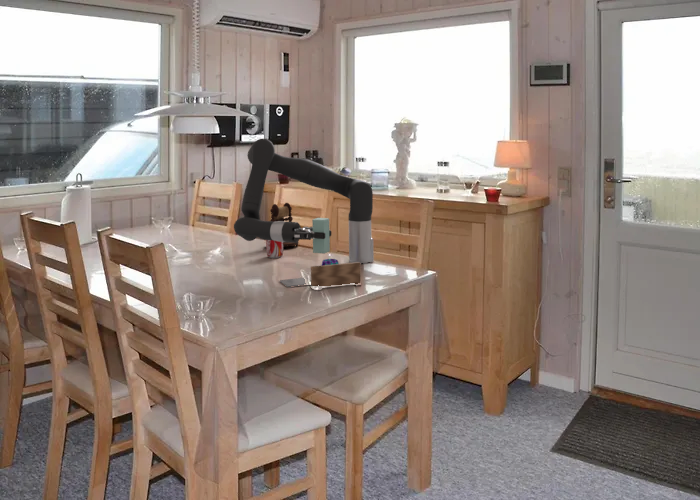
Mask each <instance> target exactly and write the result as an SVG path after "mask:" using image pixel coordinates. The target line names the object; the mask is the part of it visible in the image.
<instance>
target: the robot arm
mask: <svg viewBox="0 0 700 500" xmlns="http://www.w3.org/2000/svg"><path fill="white" fill-rule="evenodd" d="M246 155H247V159H248V161H249V162H250V164H251V167H250V168H251V169H250V173H249V177H248V179H247V183H246V186H245V188H244V189H245V190H244V193H243V198H242V203H241V207H240V208H241V210H240V211H241V213H242V214H243V217H240V218H238V219H236V220H235V222H234V224H233V230H234V232H235V233H236V235H238V236H239V237H241V238H242V239H244V240H246V241H248V242H251V241H255V239H257V238H259V239H261V240H265V241H266V240H274V241H279V242H291V243H296V242H299V241H300V240H303V241H305V240H308V241H311V240H313V239H315V238H317V239H325V238H326V237H325V233H324V232H314V231H313V226H309V227H308V226H303V227H301V225H300V223H299V222H297V221H292V222H289V221H277V222H274V221H270V220H269V221H268V220H261V219H260V218H261V216H260V215H261V214H260V211H261V206H262V201H263V195H264V191H265V185H266V184H265V183H266V180H267V179H266V178H267V175H268V172H269V171H271V172H274V173H278V174H279V175H283V176H286V177H288V178H291V179H293V180H295V181H299V182H301V183H303V184H305V185H308V186H310V187H314V188H316V189H317V188H318V189H321V190H327V191H331V192H334V193H337V194H339V195H341V196H343V197H345V198H347V199H348V200H349V212H348V258H349V259H348V263H352V262H360V263H363V264H368V263H367V262H370V263H372V262H374V256H375V255H374V254H375V253H374V238H373V237H372V214H373V204H374V203H373V200H374V199H373V198H374V197H373V189H372V187H371V185H370V183H368V182H366V181H364V180H362V179H357V178H352V177H349V176H346V175H342V174H340V173H338V172H336V171H335V170H332V169H331V168H329V167H327V166H324V165H323V164H321V163H319V162H316V161H313V160H311V159H307V158H299V157H289V156H283V155H281V154H278V153H276V150H275V145H274V144H273V142H272V141H271V140H270V139H267V138H258V139H256V140H255V141H254V142H253V143H252V145H250V147H249V150H248V152H247V154H246ZM331 236H332V230H331V229H329V237H330V238H331Z"/></svg>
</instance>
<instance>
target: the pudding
mask: <svg viewBox="0 0 700 500" xmlns="http://www.w3.org/2000/svg"><path fill="white" fill-rule="evenodd" d="M332 264H340V262H339V261H338V259H335V258H325V259H323V260H322V262H321V266H322V265H332Z"/></svg>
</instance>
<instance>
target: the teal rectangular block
mask: <svg viewBox="0 0 700 500" xmlns="http://www.w3.org/2000/svg"><path fill="white" fill-rule="evenodd" d="M311 223H312V227H313V231H314V232H324V233H325V237H326V238H325V239H317V238H315V239H312V253H313V254H324V255H325V254H328V253H330V252H331V248H330V247H331V246H330V245H331V243H330V238H331V236H330V237H329V230H330V218H328V217H316V218H313V219H312V222H311Z"/></svg>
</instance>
